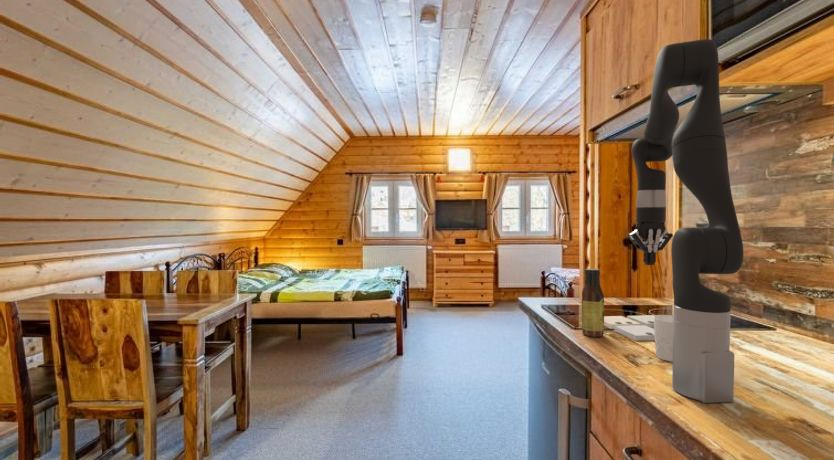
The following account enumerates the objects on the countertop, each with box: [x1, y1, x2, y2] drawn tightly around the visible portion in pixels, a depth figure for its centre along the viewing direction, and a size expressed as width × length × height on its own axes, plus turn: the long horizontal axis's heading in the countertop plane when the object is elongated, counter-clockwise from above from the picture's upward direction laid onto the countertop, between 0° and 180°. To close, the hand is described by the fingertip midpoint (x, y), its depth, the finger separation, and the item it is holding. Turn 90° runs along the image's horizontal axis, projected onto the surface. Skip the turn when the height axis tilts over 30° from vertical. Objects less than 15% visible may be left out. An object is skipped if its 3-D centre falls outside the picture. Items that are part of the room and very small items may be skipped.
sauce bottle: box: [581, 268, 605, 338], centre depth 118 cm, size 7×6×20 cm
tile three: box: [626, 314, 656, 329], centre depth 131 cm, size 10×10×2 cm
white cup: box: [653, 314, 674, 363], centre depth 98 cm, size 8×8×10 cm
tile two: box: [604, 315, 641, 330], centre depth 130 cm, size 10×10×2 cm
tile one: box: [614, 325, 655, 342], centre depth 118 cm, size 10×10×2 cm
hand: (649, 264), depth 116 cm, fingers closed
